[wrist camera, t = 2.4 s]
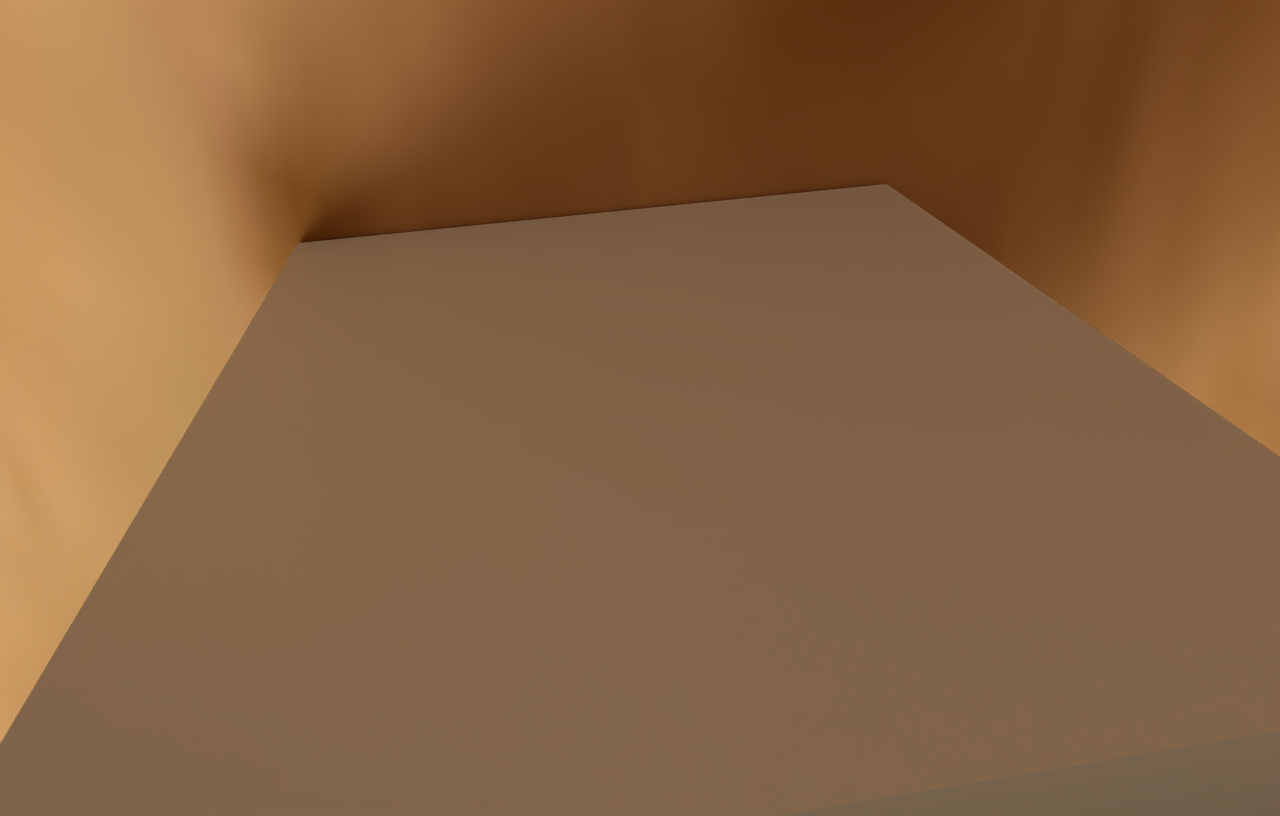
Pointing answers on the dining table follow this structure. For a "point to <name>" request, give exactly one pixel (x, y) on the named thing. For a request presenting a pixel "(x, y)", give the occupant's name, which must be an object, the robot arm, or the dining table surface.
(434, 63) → the dining table surface
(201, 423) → the matte cream cube
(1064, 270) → the dining table surface
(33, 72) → the dining table surface
